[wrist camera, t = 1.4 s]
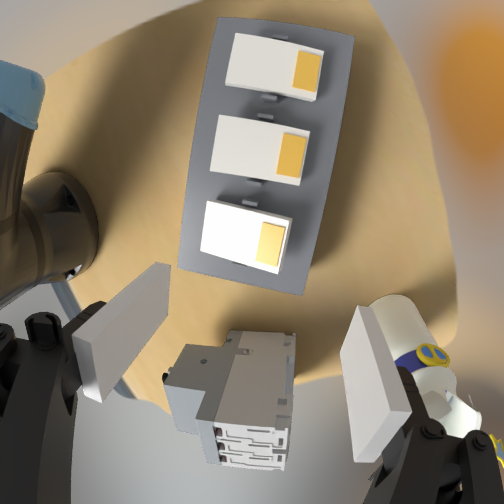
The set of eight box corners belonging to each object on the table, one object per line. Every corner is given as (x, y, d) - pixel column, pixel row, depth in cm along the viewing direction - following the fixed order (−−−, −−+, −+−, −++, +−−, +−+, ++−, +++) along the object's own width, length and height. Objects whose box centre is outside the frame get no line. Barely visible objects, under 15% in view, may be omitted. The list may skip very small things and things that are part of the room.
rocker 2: (210, 169, 24) (209, 171, 22) (219, 116, 22) (219, 114, 21) (296, 183, 24) (299, 186, 23) (306, 131, 23) (310, 131, 22)
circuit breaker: (183, 326, 38) (132, 406, 24) (296, 333, 36) (291, 428, 22) (190, 370, 40) (151, 451, 26) (293, 378, 38) (286, 471, 24)
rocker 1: (225, 85, 21) (225, 82, 20) (235, 37, 20) (235, 32, 19) (311, 102, 22) (316, 99, 21) (319, 54, 21) (324, 50, 19)
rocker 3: (206, 247, 27) (199, 251, 26) (213, 199, 26) (205, 200, 25) (281, 269, 25) (277, 274, 24) (292, 218, 24) (288, 221, 23)
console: (193, 248, 34) (167, 274, 27) (229, 38, 26) (209, 9, 19) (301, 271, 33) (302, 305, 26) (344, 56, 26) (358, 29, 18)
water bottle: (369, 283, 33) (448, 479, 9) (429, 298, 32) (532, 459, 9) (345, 342, 35) (371, 535, 12) (403, 353, 35) (460, 520, 11)
